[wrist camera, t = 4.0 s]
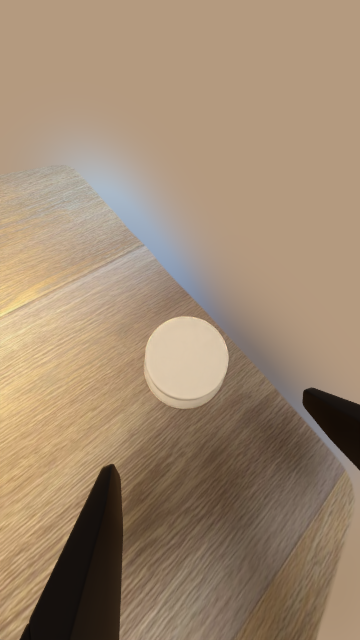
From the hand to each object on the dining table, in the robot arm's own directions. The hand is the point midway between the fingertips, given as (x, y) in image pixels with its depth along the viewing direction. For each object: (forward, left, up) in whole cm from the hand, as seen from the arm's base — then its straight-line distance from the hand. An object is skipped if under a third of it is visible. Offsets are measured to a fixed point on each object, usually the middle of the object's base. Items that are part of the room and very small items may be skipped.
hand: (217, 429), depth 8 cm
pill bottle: (+3, -2, -11) cm, 11 cm away
